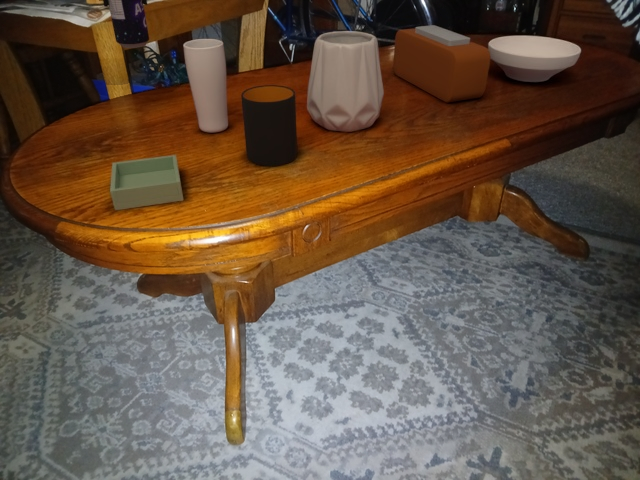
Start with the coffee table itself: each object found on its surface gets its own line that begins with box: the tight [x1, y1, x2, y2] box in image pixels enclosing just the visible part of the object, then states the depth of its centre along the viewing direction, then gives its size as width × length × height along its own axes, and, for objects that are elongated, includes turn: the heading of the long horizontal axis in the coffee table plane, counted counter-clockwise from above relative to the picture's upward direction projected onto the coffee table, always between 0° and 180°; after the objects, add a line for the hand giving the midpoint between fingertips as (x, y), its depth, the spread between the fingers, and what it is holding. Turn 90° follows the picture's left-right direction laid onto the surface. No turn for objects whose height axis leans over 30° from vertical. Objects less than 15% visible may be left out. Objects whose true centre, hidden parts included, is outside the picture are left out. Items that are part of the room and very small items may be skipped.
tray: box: [109, 154, 184, 211], centre depth 74 cm, size 9×9×3 cm
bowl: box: [487, 35, 582, 83], centre depth 116 cm, size 20×20×7 cm
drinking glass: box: [182, 38, 229, 134], centre depth 90 cm, size 7×7×15 cm
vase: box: [306, 30, 385, 133], centre depth 92 cm, size 14×14×15 cm
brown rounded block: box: [392, 24, 491, 104], centre depth 111 cm, size 24×8×11 cm, turn 22°
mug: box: [240, 84, 298, 167], centre depth 83 cm, size 8×12×10 cm
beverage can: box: [108, 0, 150, 49], centre depth 89 cm, size 6×6×12 cm
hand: (125, 3), depth 88 cm, fingers closed on beverage can, 5 cm apart
